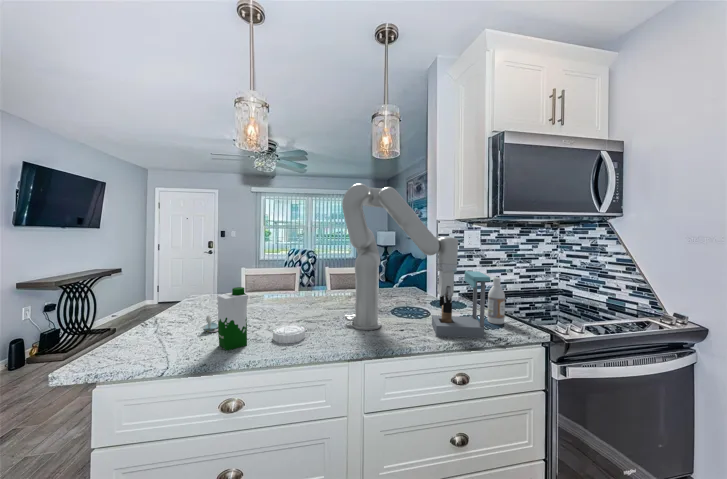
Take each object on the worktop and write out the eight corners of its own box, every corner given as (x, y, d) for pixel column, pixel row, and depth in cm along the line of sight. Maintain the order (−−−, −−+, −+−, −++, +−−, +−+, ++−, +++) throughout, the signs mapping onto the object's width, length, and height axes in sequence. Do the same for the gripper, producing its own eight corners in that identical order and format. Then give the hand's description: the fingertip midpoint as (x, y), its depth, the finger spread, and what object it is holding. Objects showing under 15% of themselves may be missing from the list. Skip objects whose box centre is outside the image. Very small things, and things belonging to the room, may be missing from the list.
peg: (442, 332, 124) (442, 307, 124) (440, 328, 128) (441, 304, 128) (452, 332, 124) (452, 307, 123) (450, 329, 128) (450, 305, 127)
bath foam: (498, 325, 133) (499, 279, 132) (484, 321, 138) (485, 277, 138) (507, 322, 136) (508, 278, 136) (493, 318, 142) (494, 276, 141)
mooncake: (305, 342, 112) (305, 333, 112) (271, 345, 110) (271, 335, 110) (305, 331, 124) (305, 322, 124) (274, 333, 122) (274, 324, 121)
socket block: (436, 336, 119) (436, 325, 119) (431, 324, 133) (431, 315, 133) (484, 338, 118) (484, 327, 117) (474, 326, 132) (474, 316, 131)
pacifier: (222, 327, 128) (206, 328, 127) (222, 312, 128) (207, 313, 126) (218, 333, 121) (201, 334, 119) (218, 317, 121) (201, 318, 119)
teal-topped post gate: (472, 338, 118) (473, 276, 117) (463, 325, 133) (464, 271, 131) (488, 338, 117) (490, 277, 116) (477, 325, 132) (479, 271, 131)
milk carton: (250, 345, 109) (250, 289, 108) (224, 352, 102) (223, 293, 101) (240, 338, 115) (239, 285, 114) (215, 345, 109) (214, 289, 108)
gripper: (434, 264, 134) (433, 303, 135) (441, 270, 117) (438, 314, 117) (452, 265, 133) (450, 304, 134) (461, 271, 116) (459, 316, 117)
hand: (445, 309), depth 126 cm, fingers open, 9 cm apart
